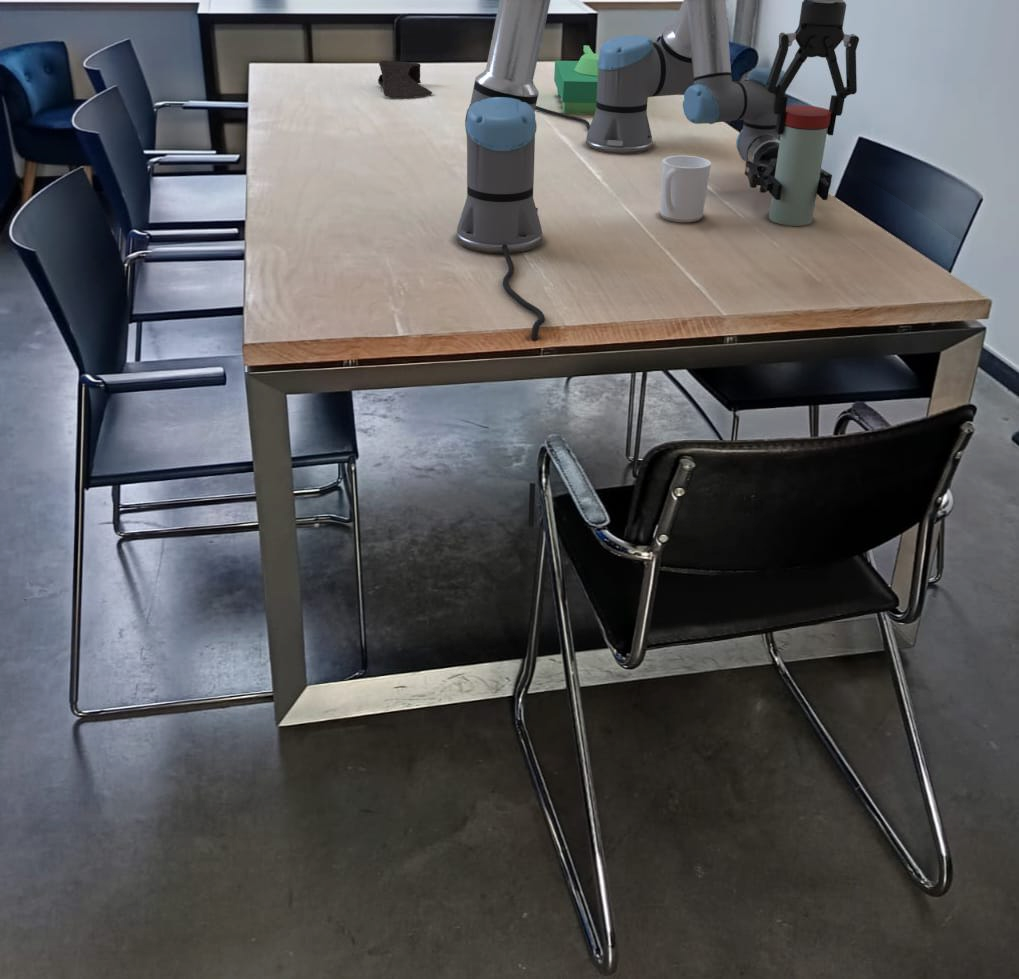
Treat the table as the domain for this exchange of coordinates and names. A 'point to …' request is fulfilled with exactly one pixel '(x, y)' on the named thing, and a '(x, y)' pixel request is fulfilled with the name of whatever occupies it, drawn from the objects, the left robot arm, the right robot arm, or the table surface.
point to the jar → (798, 175)
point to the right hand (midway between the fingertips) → (802, 192)
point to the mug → (684, 188)
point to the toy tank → (578, 83)
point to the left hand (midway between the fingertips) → (803, 132)
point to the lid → (807, 117)
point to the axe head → (401, 79)
